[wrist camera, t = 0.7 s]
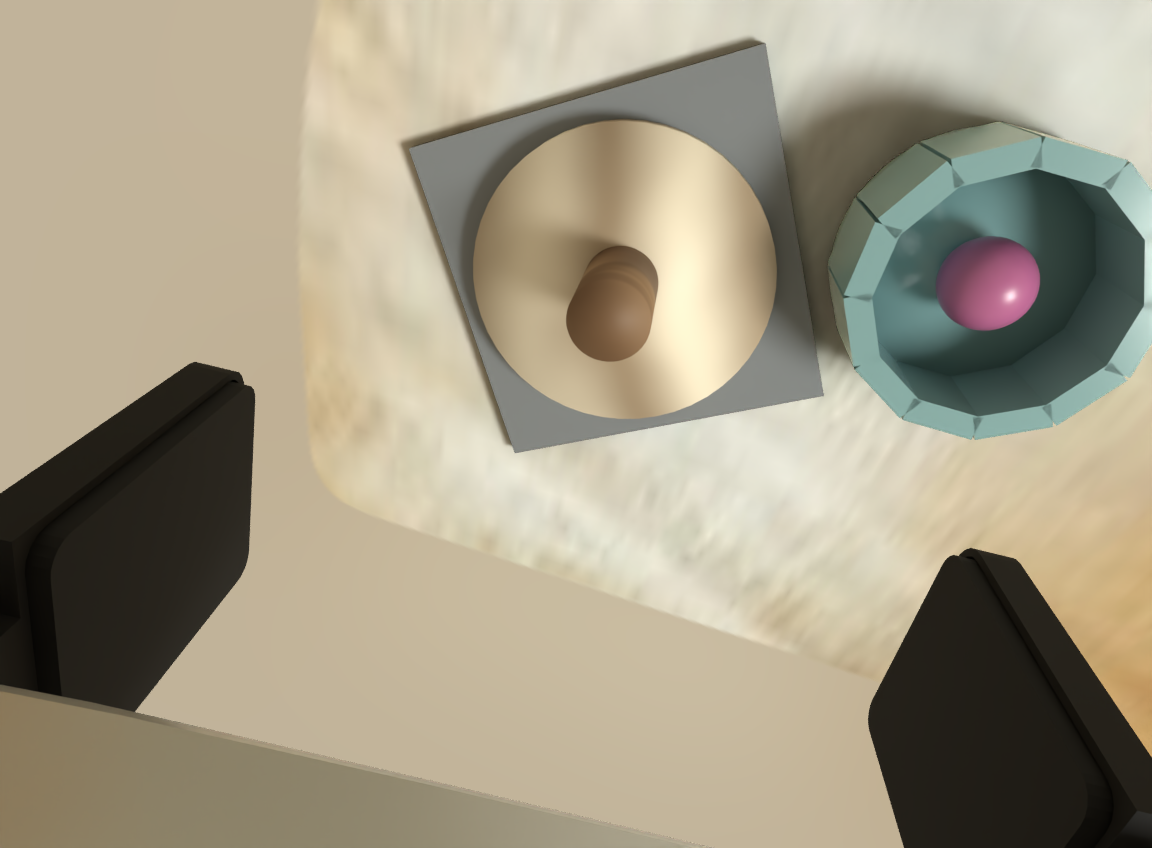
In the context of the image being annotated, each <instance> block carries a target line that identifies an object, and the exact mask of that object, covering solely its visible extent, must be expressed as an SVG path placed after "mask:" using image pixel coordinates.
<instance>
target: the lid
mask: <svg viewBox="0 0 1152 848" xmlns="http://www.w3.org/2000/svg"><path fill="white" fill-rule="evenodd" d="M776 279H777V264H776V255H775V246H774V242H773V238H772V234H771V230H770V227H769V223H768V220H767V218H766V215H765V213H764V210H763V208H762V206H761V203H760V201H759V200H758V198H757V196H756V194H755V193H754V191H753V189H752V187H751V186H750V184H749V183H748V182H747V180H746V179H745V178H744V177H743V175H742V174H741V173H740V172H739V170H738V169H737V168H736V167H735V166H734V165H733V164H732V163H731V162H730V161H729V160H728V159H727V158H726V157H725V156H724V155H723V154H721V153H720V152H719V151H717V150H716V149H714V148H713V147H712V146H710V145H709V144H708V143H706V142H705V141H703V140H701V139H699V138H697V137H695V136H693V135H691V134H690V133H688V132H685V131H683V130H680V129H677V128H674V127H672V126H669V125H666V124H661V123H656V122H652V121H647V120H635V119H615V120H603V121H598V122H593V123H589V124H584V125H581V126H578V127H576V128H573V129H570V130H567V131H565V132H563V133H561V134H559V135H557V136H555V137H553V138H551V139H549V140H548V141H546V142H544V143H543V144H542V145H540V146H539V147H537V148H536V149H535V150H533V151H532V152H531V153H529V154H528V155H527V156H525V157H524V158H523V159H522V160H521V161H520V162H519V163H518V164H517V165H516V166H515V167H514V168H513V169H512V170H511V171H510V172H509V173H508V175H507V176H506V177H505V178H504V180H503V181H502V182H501V183H500V185H499V186H498V187H497V189H496V191H495V193H494V194H493V196H492V198H491V199H490V201H489V203H488V205H487V207H486V210H485V212H484V215H483V217H482V219H481V222H480V226H479V229H478V233H477V237H476V241H475V249H474V257H473V280H474V287H475V294H476V300H477V303H478V307H479V311H480V314H481V317H482V320H483V322H484V324H485V327H486V329H487V332H488V334H489V335H490V337H491V339H492V341H493V342H494V344H495V346H496V348H497V349H498V351H499V352H500V353H501V355H502V356H503V357H504V359H505V360H506V362H507V363H508V364H509V365H510V366H511V367H512V368H513V369H514V370H515V371H516V373H517V374H518V375H519V376H520V377H521V378H523V379H524V380H525V381H526V382H527V383H529V384H530V385H531V386H532V387H533V388H535V389H536V390H538V391H539V392H541V393H542V394H544V395H545V396H547V397H548V398H550V399H552V400H554V401H556V402H558V403H560V404H562V405H564V406H566V407H569V408H572V409H574V410H577V411H580V412H583V413H587V414H591V415H595V416H600V417H607V418H616V419H640V418H647V417H655V416H660V415H664V414H668V413H672V412H675V411H678V410H680V409H683V408H685V407H688V406H691V405H693V404H694V403H696V402H698V401H700V400H702V399H704V398H706V397H707V396H709V395H710V394H712V393H713V392H715V391H716V390H717V389H719V388H720V387H722V386H723V385H724V384H725V383H726V382H727V381H728V380H730V379H731V378H732V377H733V376H734V375H735V374H736V373H737V372H738V371H739V370H740V368H741V367H742V366H743V365H744V364H745V362H746V361H747V360H748V359H749V357H750V356H751V354H752V353H753V351H754V350H755V348H756V346H757V345H758V343H759V341H760V339H761V337H762V335H763V333H764V331H765V329H766V327H767V324H768V321H769V318H770V314H771V311H772V308H773V303H774V297H775V292H776Z"/></svg>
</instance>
